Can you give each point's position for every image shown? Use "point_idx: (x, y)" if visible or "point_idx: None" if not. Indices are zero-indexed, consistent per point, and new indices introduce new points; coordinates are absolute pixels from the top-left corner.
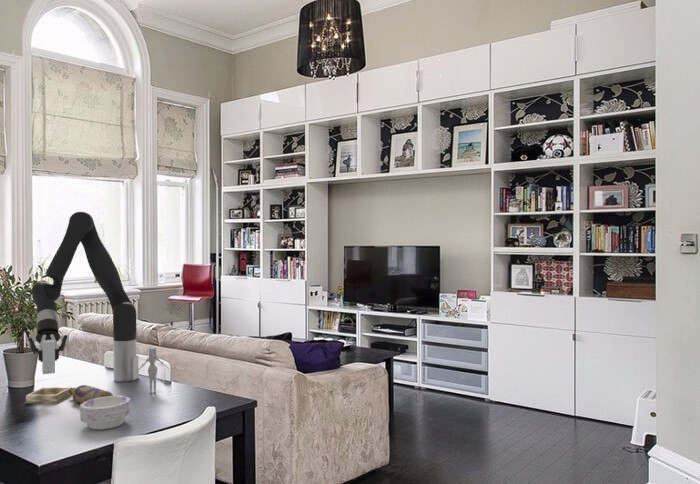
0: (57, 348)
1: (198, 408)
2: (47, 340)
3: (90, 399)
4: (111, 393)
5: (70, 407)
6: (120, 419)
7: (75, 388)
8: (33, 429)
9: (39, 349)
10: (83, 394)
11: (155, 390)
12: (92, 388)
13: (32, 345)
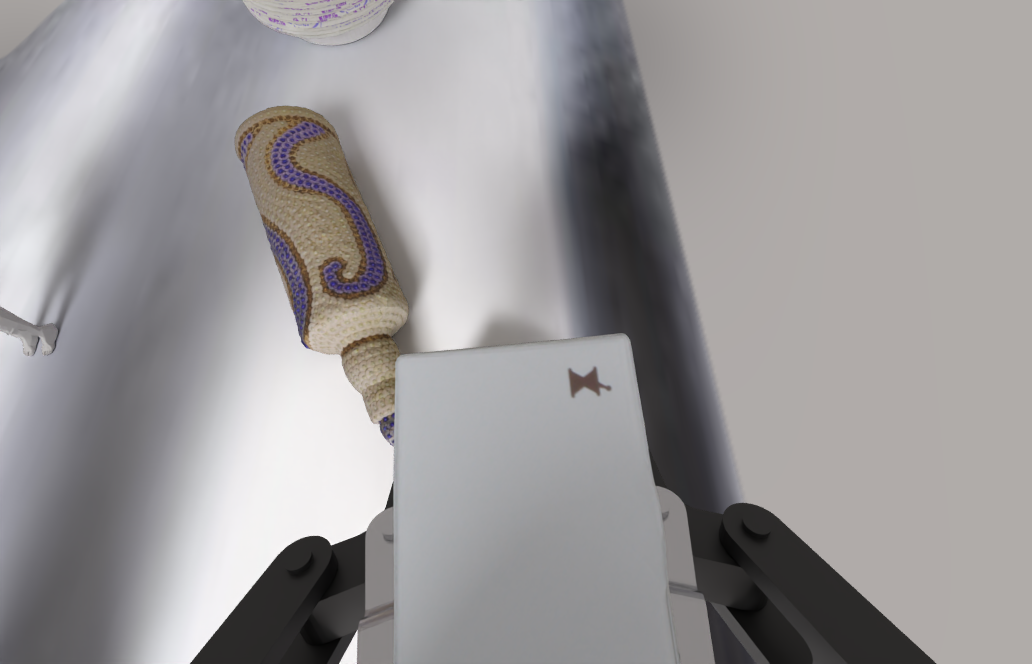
0: (391, 518)
1: (16, 58)
2: (555, 621)
3: (337, 151)
4: (235, 136)
5: (429, 261)
6: None
7: (376, 357)
8: (553, 54)
9: (663, 496)
10: (354, 206)
11: (13, 330)
12: (297, 198)
13: (840, 596)
